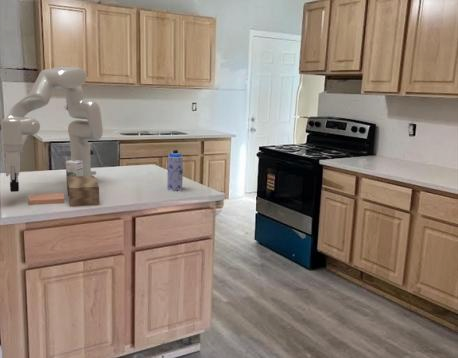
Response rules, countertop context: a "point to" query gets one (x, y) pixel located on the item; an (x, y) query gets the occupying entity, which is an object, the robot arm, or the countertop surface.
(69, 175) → the syrup box
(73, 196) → the brown box
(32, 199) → the panel
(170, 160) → the aerosol can
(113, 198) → the countertop surface
